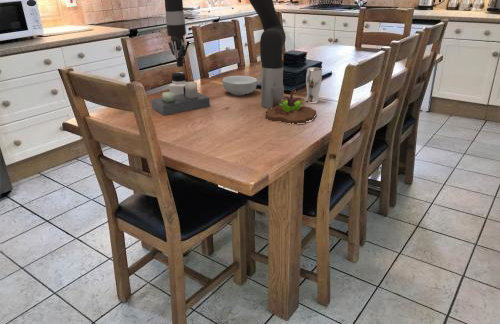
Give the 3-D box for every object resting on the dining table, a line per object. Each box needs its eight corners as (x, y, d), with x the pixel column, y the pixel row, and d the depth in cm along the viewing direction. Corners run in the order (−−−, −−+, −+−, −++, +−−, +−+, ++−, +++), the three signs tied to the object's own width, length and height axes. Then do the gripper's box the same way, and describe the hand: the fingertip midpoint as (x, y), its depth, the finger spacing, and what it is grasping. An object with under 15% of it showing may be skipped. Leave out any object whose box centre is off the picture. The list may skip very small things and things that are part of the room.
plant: (322, 114, 170) (324, 88, 166) (303, 128, 155) (305, 99, 150) (280, 107, 180) (281, 82, 175) (258, 119, 164) (258, 92, 160)
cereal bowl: (242, 100, 188) (242, 85, 185) (215, 94, 197) (215, 80, 194) (263, 92, 200) (264, 78, 197) (237, 87, 209) (237, 73, 206)
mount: (209, 106, 179) (209, 97, 178) (163, 115, 168) (162, 106, 166) (196, 100, 188) (196, 91, 186) (152, 108, 177) (151, 99, 175)
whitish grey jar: (199, 98, 179) (199, 83, 176) (189, 100, 176) (188, 85, 173) (194, 95, 183) (193, 81, 180) (183, 97, 180) (182, 82, 177)
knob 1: (177, 109, 174) (176, 93, 171) (166, 111, 172) (165, 95, 169) (172, 106, 178) (171, 91, 175) (161, 108, 175) (159, 92, 173)
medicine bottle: (184, 101, 187) (182, 75, 182) (170, 100, 188) (167, 74, 183) (189, 96, 193) (188, 71, 188) (175, 96, 195) (173, 71, 189)
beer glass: (302, 102, 184) (304, 69, 178) (307, 98, 190) (309, 66, 184) (317, 104, 182) (319, 71, 175) (322, 100, 187) (324, 68, 181)
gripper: (192, 23, 160) (195, 67, 167) (176, 21, 169) (180, 63, 176) (175, 25, 156) (179, 70, 163) (159, 22, 165) (164, 65, 172)
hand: (180, 66), depth 170 cm, fingers closed
